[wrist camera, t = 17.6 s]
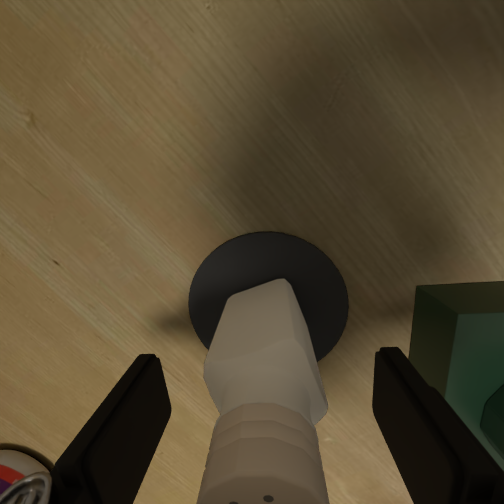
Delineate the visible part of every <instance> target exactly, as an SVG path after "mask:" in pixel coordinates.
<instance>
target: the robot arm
mask: <svg viewBox="0 0 504 504" xmlns="http://www.w3.org/2000/svg"><path fill="white" fill-rule="evenodd" d="M372 408H373V413H374V416H375V419H376V421H377V423H378V425H379V428H380V430H381V432H382V434H383V436H384V439H385V441H386V443H387V445H388V448H389V450H390V452H391V454H392V456H393V459H394V461H395V463H396V465H397V467H398V470H399V472H400V474H401V476H402V479H403V481H404V483H405V485H406V487H407V490H408V492H409V494H410V496H411V498H412V501H413V503H414V504H504V471H503V470H502V468H501V467H500V466H499V465H498V464H497V462H496V461H495V460H494V459H493V457H492V456H491V455H490V454H489V453H488V451H487V450H486V449H485V448H484V446H483V445H482V444H481V443H480V442H479V440H478V439H477V438H476V437H475V435H474V434H473V433H472V432H471V431H470V429H469V428H468V427H467V426H466V424H465V423H464V422H463V421H462V420H461V418H460V417H459V416H458V415H457V413H456V412H455V411H454V410H453V408H452V407H451V406H450V405H449V404H448V402H447V401H446V400H445V399H444V397H443V396H442V395H441V394H440V393H439V392H438V391H437V389H436V388H434V387H432V386H429V385H428V384H427V383H426V381H425V380H424V379H423V377H422V376H421V375H420V374H419V372H418V371H417V370H416V369H415V367H414V366H413V365H412V364H411V362H410V361H409V360H408V359H407V357H406V356H405V355H404V353H403V352H402V351H401V350H400V349H399V348H398V347H381V348H380V351H379V352H376V353H375V367H374V384H373V401H372ZM170 415H171V403H170V399H169V395H168V391H167V387H166V383H165V379H164V374H163V370H162V366H161V362H160V359H159V358H157V357H156V355H155V354H140V355H139V356H138V357H137V358H136V359H135V361H134V362H133V363H132V364H131V366H130V367H129V368H128V370H127V371H126V372H125V374H124V375H123V376H122V377H121V379H120V380H119V381H118V383H117V384H116V385H115V386H114V388H113V389H112V390H111V392H110V393H109V394H108V396H107V397H106V398H105V399H104V401H103V402H102V403H101V405H100V406H99V407H98V409H97V410H96V411H95V412H94V414H93V415H92V416H91V418H90V419H89V420H88V421H87V423H86V424H85V425H84V427H83V428H82V429H81V431H80V432H79V433H78V434H77V436H76V437H75V438H74V440H73V441H72V442H71V443H70V445H69V446H68V447H67V449H66V450H65V451H64V453H63V454H62V455H61V456H60V458H59V459H58V460H57V462H56V463H55V467H54V468H53V469H52V471H51V472H50V473H48V472H44V471H41V472H35V473H32V474H30V475H27V476H25V477H23V478H22V479H20V480H19V481H17V482H15V483H14V484H13V485H11V486H10V487H9V488H8V489H6V490H5V491H4V492H3V493H2V494H1V495H0V504H133V502H134V500H135V497H136V495H137V493H138V490H139V488H140V486H141V483H142V481H143V479H144V476H145V474H146V472H147V469H148V467H149V465H150V462H151V460H152V458H153V455H154V453H155V451H156V448H157V446H158V444H159V442H160V439H161V437H162V435H163V432H164V430H165V428H166V425H167V423H168V421H169V418H170Z"/></svg>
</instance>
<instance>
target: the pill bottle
mask: <svg viewBox="0 0 504 504" xmlns="http://www.w3.org/2000/svg"><path fill="white" fill-rule="evenodd" d="M41 471H44V472H48V473H50V472H49V471H48V470H47V469H46V468H45V467H44V466H43V465H42V464H41V463H40V462H38V461H37V460H36V459H34V458H32V457H31V456H29V455H27V454H24V453H22V452H19V451H15V450H0V495H1V494H2V493H3V492H4V491H5V490H6V489H8V488H9V487H10V486H11V485H13V484H14V483H15V482H17V481H19V480H20V479H22V478H23V477H25V476H27V475H30V474H32V473H35V472H41Z"/></svg>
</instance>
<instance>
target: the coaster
mask: <svg viewBox="0 0 504 504" xmlns="http://www.w3.org/2000/svg"><path fill="white" fill-rule="evenodd" d="M276 279H285V280H286V281H287V282H288V283H289V284H290V285H291V287H292V289H293V292H294V294H295V297H296V299H297V302H298V304H299V307H300V309H301V312H302V314H303V317H304V319H305V322H306V324H307V327H308V331H309V335H310V339H311V342H312V346H313V350H314V354H315V357H316V361H317V362H318V361H319V360H321V359H322V358H323V357H325V356H326V355H327V354H328V353H329V352H330V351H331V350H332V348H333V347H334V346H335V345H336V343H337V342H338V340H339V338H340V337H341V335H342V333H343V330H344V328H345V325H346V321H347V317H348V307H349V306H348V295H347V290H346V286H345V284H344V281H343V278H342V276H341V275H340V273H339V271H338V269H337V268H336V267H335V265H334V264H333V263H332V261H331V260H330V259H329V258H328V257H327V256H326V255H325V254H324V253H323V252H322V251H321V250H319V249H318V248H317V247H315V246H314V245H312V244H311V243H309V242H307V241H305V240H303V239H301V238H298V237H296V236H293V235H289V234H285V233H279V232H255V233H248V234H245V235H241V236H238V237H236V238H233V239H231V240H229V241H227V242H225V243H224V244H222V245H220V246H219V247H218V248H216V249H215V250H214V251H213V252H211V254H210V255H209V256H208V257H207V258H206V259H205V260H204V261H203V262H202V264H201V265H200V267H199V268H198V270H197V272H196V274H195V276H194V278H193V281H192V284H191V287H190V292H189V313H190V318H191V321H192V325H193V327H194V329H195V332H196V334H197V335H198V337H199V339H200V340H201V342H202V343H203V344H204V346H205V347H206V348H207V349H208V350H209V348H210V345H211V343H212V340H213V337H214V335H215V332H216V329H217V327H218V324H219V321H220V318H221V316H222V313H223V310H224V308H225V305H226V302H227V300H228V299H229V298H230V297H231V296H232V295H234V294H236V293H239V292H242V291H245V290H248V289H251V288H253V287H256V286H259V285H262V284H265V283H268V282H270V281H273V280H276Z"/></svg>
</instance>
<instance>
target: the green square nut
mask: <svg viewBox="0 0 504 504" xmlns="http://www.w3.org/2000/svg"><path fill="white" fill-rule="evenodd" d="M409 361H410V362H411V364H412V365H413V366H414V367H415V369H416V370H417V371H418V372H419V374H420V375H421V376H422V377H423V379H424V380H425V381H426V383H427V384H428V385H429V386H432V387H434V388H436V389H437V391H438V392H439V393H440V394H441V395H442V396H443V397H444V399H445V400H446V401H447V402H448V404H449V405H450V406H451V407H452V408H453V410H454V411H455V412H456V413H457V415H458V416H459V417H460V418H461V420H462V421H463V422H464V423H465V424H466V426H467V427H468V428H469V429H470V431H471V432H472V433H473V434H474V435H475V437H476V438H477V439H478V440H479V442H480V443H481V444H482V445H483V446H484V448H485V449H486V450H487V451H488V453H489V454H490V455H491V456H492V457H493V459H494V460H495V461H496V462H497V464H498V465H499V466H500V467H501V468H502V470H503V471H504V281H503V282H484V283H465V284H446V285H427V286H417V289H416V298H415V308H414V317H413V327H412V337H411V346H410V356H409Z"/></svg>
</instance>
